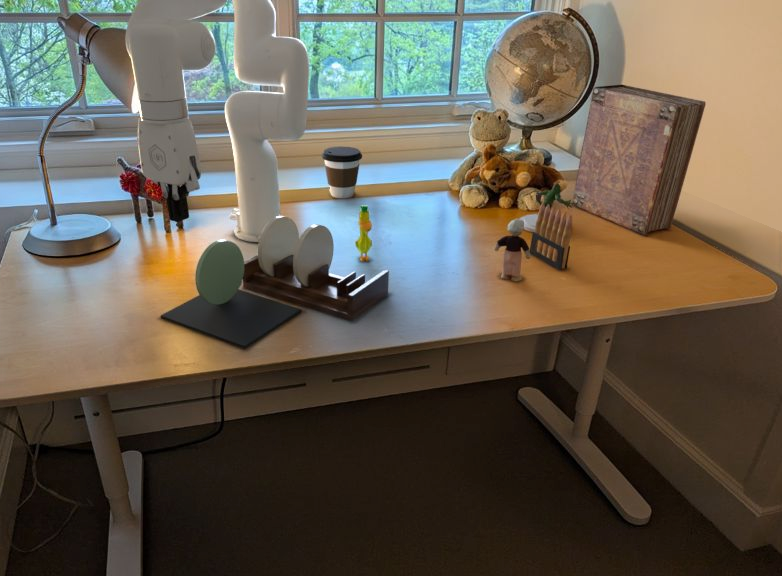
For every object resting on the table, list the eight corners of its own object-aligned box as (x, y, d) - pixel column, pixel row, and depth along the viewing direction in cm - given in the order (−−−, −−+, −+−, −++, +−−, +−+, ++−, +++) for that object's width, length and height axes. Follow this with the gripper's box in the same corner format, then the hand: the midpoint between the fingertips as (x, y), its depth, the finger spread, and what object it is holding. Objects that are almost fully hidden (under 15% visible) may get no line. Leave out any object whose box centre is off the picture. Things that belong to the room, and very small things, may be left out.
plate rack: (243, 287, 128) (240, 263, 125) (283, 265, 137) (282, 242, 135) (352, 321, 117) (352, 296, 114) (388, 295, 126) (389, 270, 123)
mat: (160, 318, 117) (160, 315, 116) (221, 286, 128) (221, 283, 128) (245, 349, 108) (244, 346, 108) (301, 311, 119) (301, 309, 119)
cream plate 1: (259, 284, 126) (254, 226, 119) (296, 263, 134) (294, 208, 128) (263, 285, 125) (259, 227, 119) (300, 264, 134) (298, 209, 128)
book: (671, 230, 158) (707, 101, 142) (644, 236, 155) (678, 105, 139) (596, 200, 177) (621, 83, 161) (571, 205, 174) (593, 86, 158)
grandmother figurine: (528, 276, 134) (537, 218, 127) (526, 283, 131) (535, 224, 124) (492, 271, 136) (499, 213, 130) (488, 278, 133) (496, 219, 126)
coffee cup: (332, 203, 172) (332, 158, 166) (316, 191, 180) (315, 148, 174) (368, 197, 176) (369, 153, 170) (351, 187, 185) (351, 144, 178)
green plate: (190, 303, 114) (200, 237, 112) (234, 303, 125) (245, 242, 122) (194, 305, 114) (205, 238, 111) (238, 304, 124) (249, 243, 122)
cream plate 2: (294, 295, 122) (291, 235, 116) (330, 273, 131) (329, 216, 124) (298, 296, 122) (295, 236, 115) (334, 274, 130) (333, 217, 124)
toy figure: (375, 265, 138) (377, 211, 131) (359, 266, 137) (360, 212, 131) (368, 253, 143) (369, 201, 137) (353, 254, 143) (353, 202, 136)
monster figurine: (577, 228, 159) (586, 187, 153) (544, 237, 153) (551, 195, 148) (541, 214, 167) (548, 175, 162) (508, 222, 161) (514, 182, 156)
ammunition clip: (566, 269, 138) (577, 215, 131) (560, 270, 137) (570, 216, 131) (535, 251, 146) (543, 199, 139) (528, 252, 145) (537, 200, 139)
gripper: (113, 108, 104) (133, 217, 114) (180, 119, 98) (195, 234, 107) (149, 101, 110) (165, 206, 119) (214, 111, 103) (225, 221, 113)
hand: (179, 219), depth 113 cm, fingers closed
